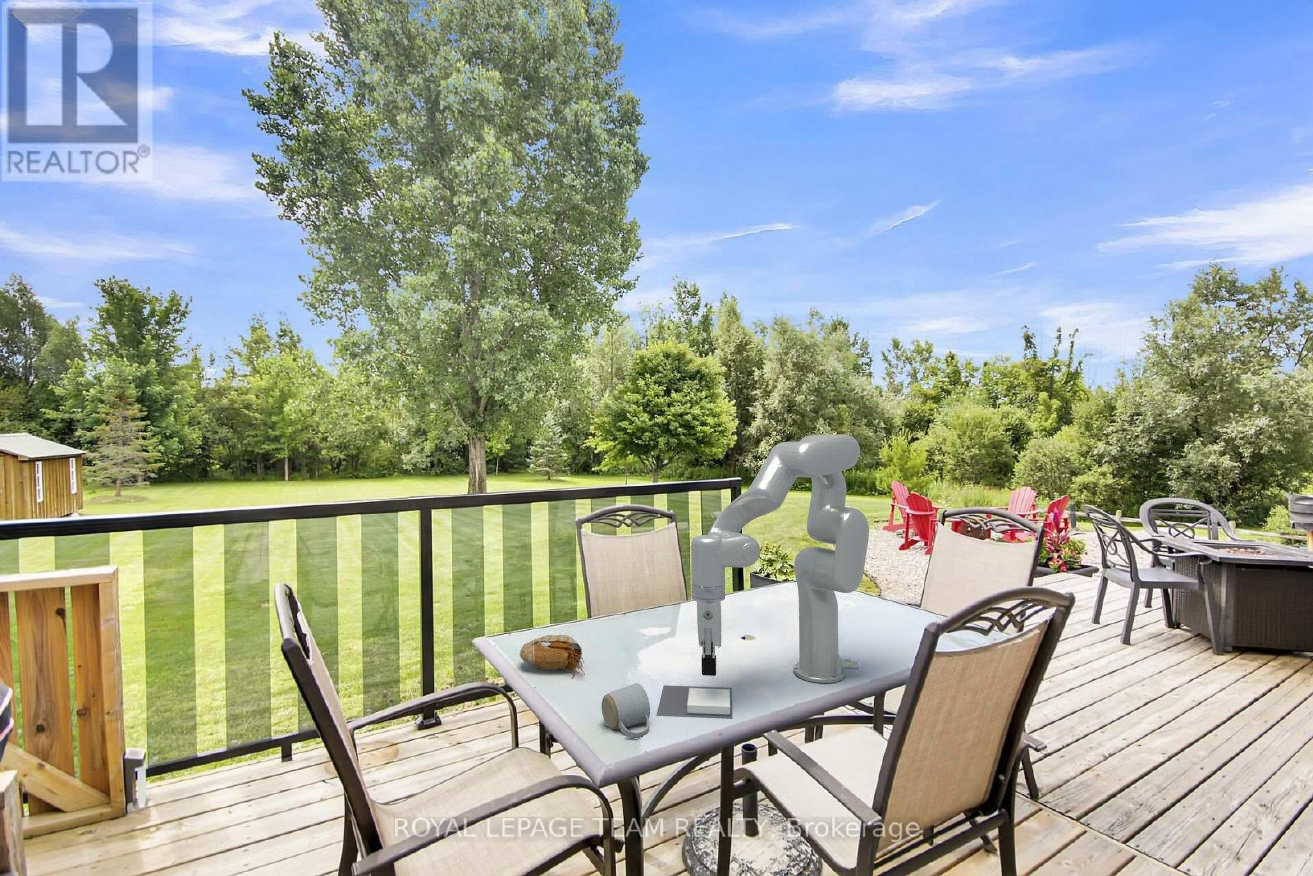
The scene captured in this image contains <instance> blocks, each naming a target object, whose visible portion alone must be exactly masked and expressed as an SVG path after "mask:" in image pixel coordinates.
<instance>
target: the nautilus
mask: <svg viewBox="0 0 1313 876" xmlns="http://www.w3.org/2000/svg"><path fill="white" fill-rule="evenodd" d="M582 654H583V649H582V647H581V645H580V644H579V643H578V642H577V641H576V639H574V638H573V637H572V636H569V635H566V634H557V635H555V634H549V635H548V634H547V635H544V636H543V635H542V636H540V637H538V638H535V639H532V640H531V641H528V642H527V643H524V644H523V645H522V647H521V649H520V651H519V657H520V658H521V661H523V662H524V663H527V664H528V665H533V666H534V667H536V668H537V669H539V670H548V671H552V670H557V669H560V670H568V671H571V672H573V675H572V678H571V679H573V678H574V677H575V676H576V674H575V673H577V674H580V675H582V676H586V673H585V672H584V670H583V663H585V661H584V658H583V656H582ZM581 660H582V661H581ZM582 662H583V663H582ZM579 663H580V665H581V666H580V665H579ZM576 668H577V669H578V670H580V671H582V672H580V671H577V670H576Z"/></svg>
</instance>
